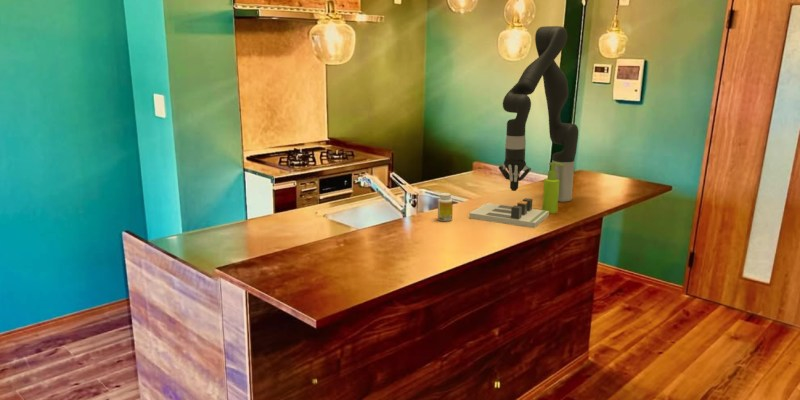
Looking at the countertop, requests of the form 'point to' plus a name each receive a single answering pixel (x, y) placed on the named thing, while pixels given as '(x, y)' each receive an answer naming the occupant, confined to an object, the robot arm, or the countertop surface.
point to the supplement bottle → (445, 207)
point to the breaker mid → (523, 206)
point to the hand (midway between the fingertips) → (514, 190)
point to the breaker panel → (508, 215)
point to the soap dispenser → (551, 190)
